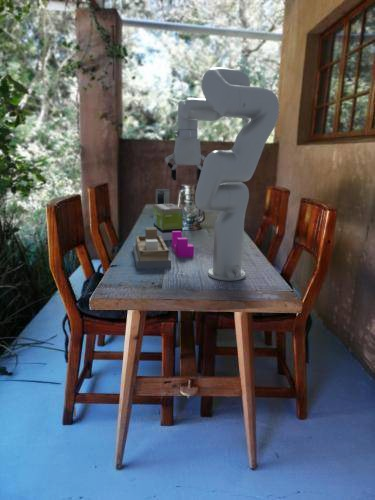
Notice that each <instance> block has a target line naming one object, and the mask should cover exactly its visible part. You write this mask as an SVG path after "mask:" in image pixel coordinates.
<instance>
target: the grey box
mask: <svg viewBox="0 0 375 500" xmlns="http://www.w3.org/2000/svg"><path fill="white" fill-rule="evenodd" d="M145 250H146V251H148V250H158V241H157V239H145Z"/></svg>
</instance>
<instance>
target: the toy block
mask: <svg viewBox="0 0 375 500" xmlns="http://www.w3.org/2000/svg"><path fill="white" fill-rule="evenodd" d="M171 249H172V251H173V252H174V253H175V254H176V257H177V256H178V257H177V258H194V257H195V245H193V243H189V238H187V237H183V231H182V232H181V231H172V240H171Z"/></svg>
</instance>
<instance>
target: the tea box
mask: <svg viewBox="0 0 375 500" xmlns="http://www.w3.org/2000/svg"><path fill="white" fill-rule="evenodd" d="M152 208H153V213H152V215H153V227H156V228H157V236H161V237H162V239H163V241H164V242H165V241H172V231H181V232H182V233H183V213H184V212H183V209H184V208H182V207H180V206H178V205H176V204H174V203H169V204H156V203H155V204H153V207H152Z"/></svg>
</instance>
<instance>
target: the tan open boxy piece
mask: <svg viewBox="0 0 375 500" xmlns="http://www.w3.org/2000/svg"><path fill="white" fill-rule="evenodd" d="M144 230H145V231H144V232H145V235H135V243H136V247H137V251H138V255H139V259H140V261H164V260H169V257H170V256H169V254H170V251H169V248H168V246H167V245H166V243H165V240H164V241H163V239H162V237H161V236H157V228H156V227H154V226H152V227H147V226H146V227H145V229H144ZM145 239H157V241H158V250H148V251H146V250H145Z"/></svg>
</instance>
